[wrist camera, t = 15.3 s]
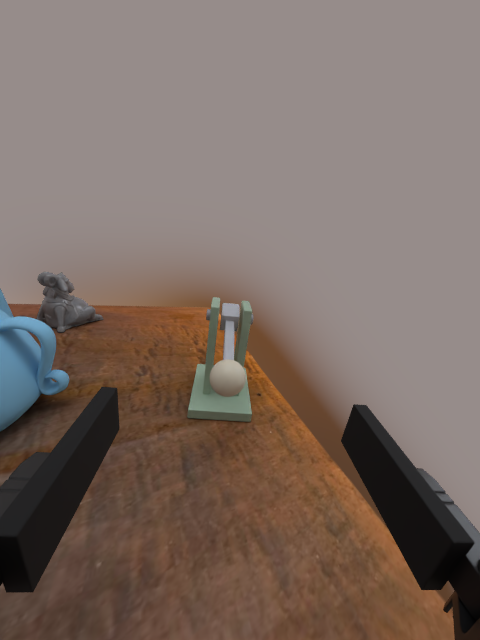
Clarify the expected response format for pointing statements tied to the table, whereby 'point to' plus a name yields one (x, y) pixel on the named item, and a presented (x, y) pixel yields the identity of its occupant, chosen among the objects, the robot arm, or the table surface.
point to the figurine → (63, 304)
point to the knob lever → (228, 357)
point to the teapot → (25, 364)
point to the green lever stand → (203, 396)
